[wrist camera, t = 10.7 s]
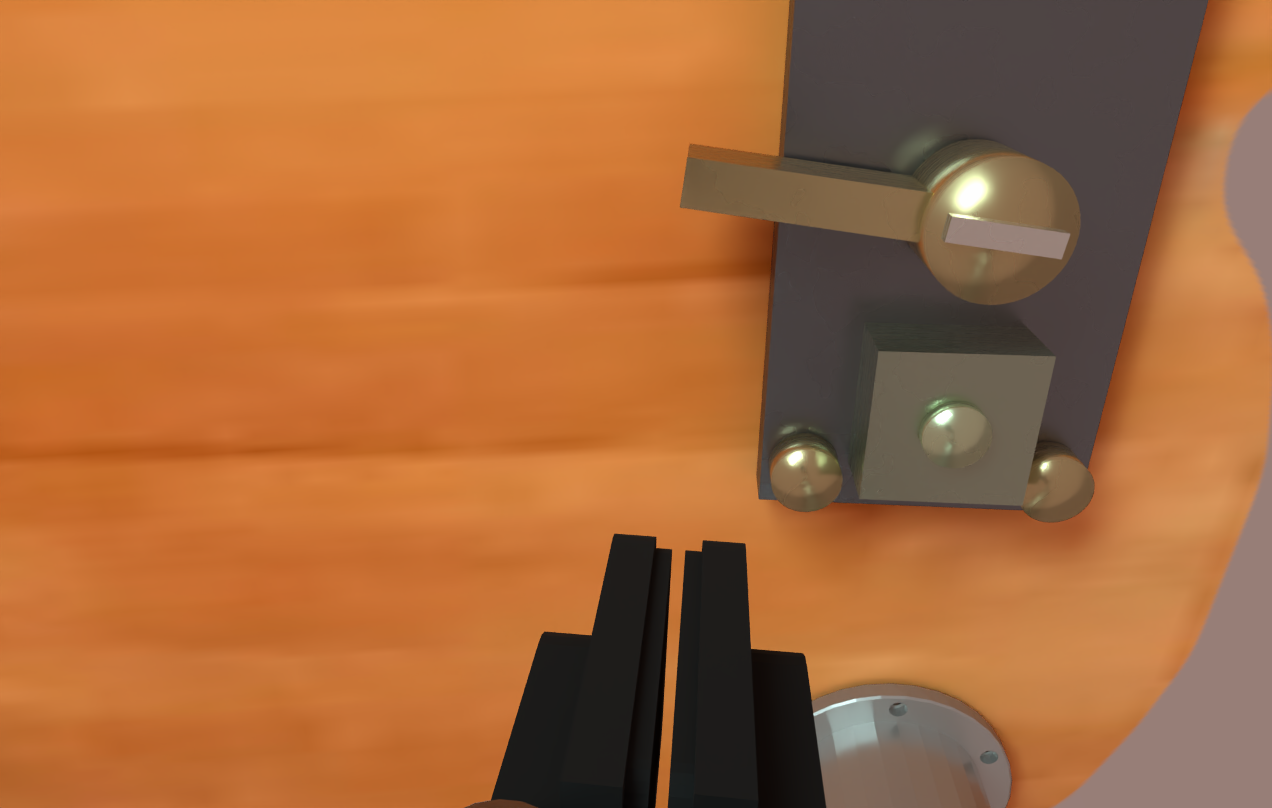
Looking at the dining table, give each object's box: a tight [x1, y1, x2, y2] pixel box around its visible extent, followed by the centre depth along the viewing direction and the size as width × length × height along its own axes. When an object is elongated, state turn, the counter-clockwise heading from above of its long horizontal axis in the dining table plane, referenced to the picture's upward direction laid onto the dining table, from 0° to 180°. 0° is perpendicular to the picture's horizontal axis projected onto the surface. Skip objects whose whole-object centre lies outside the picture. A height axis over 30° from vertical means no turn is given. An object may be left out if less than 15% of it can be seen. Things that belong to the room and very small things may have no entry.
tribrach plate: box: [756, 0, 1208, 522], centre depth 30 cm, size 22×13×6 cm, turn 0°
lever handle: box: [680, 139, 1080, 305], centre depth 28 cm, size 12×5×4 cm, turn 83°
